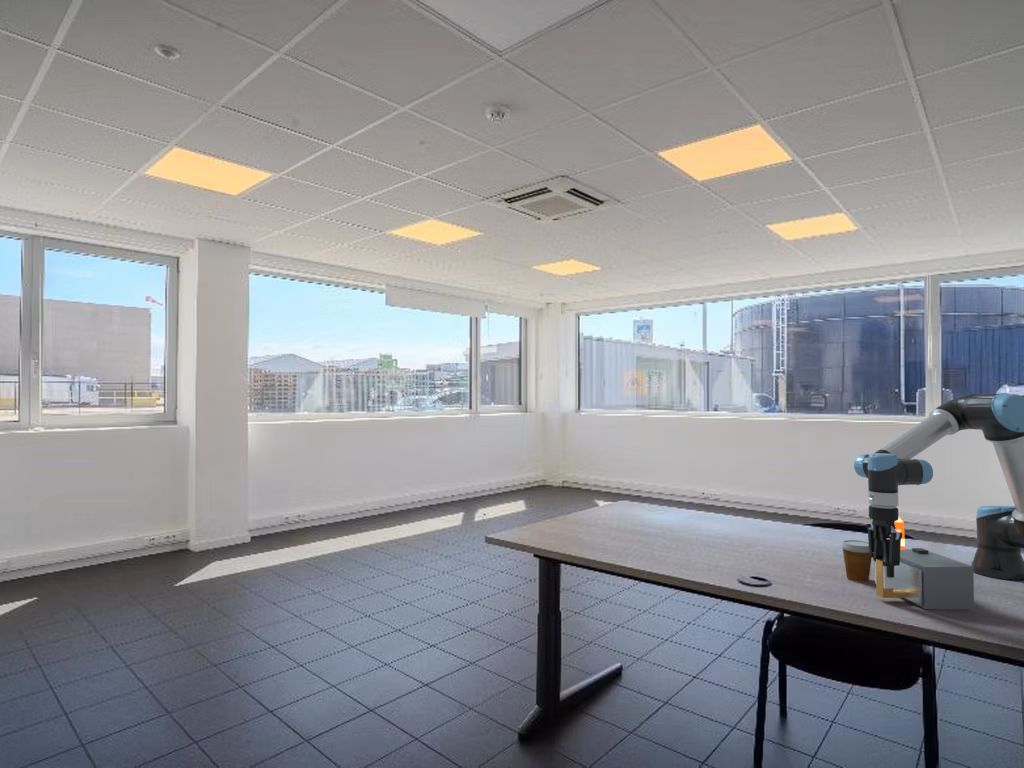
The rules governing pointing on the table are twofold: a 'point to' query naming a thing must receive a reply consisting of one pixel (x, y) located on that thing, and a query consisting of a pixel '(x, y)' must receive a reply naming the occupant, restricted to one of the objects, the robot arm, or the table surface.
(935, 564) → the open-sided grey enclosure
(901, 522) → the orange juice
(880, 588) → the side cover
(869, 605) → the table surface
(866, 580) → the disposable coffee cup
